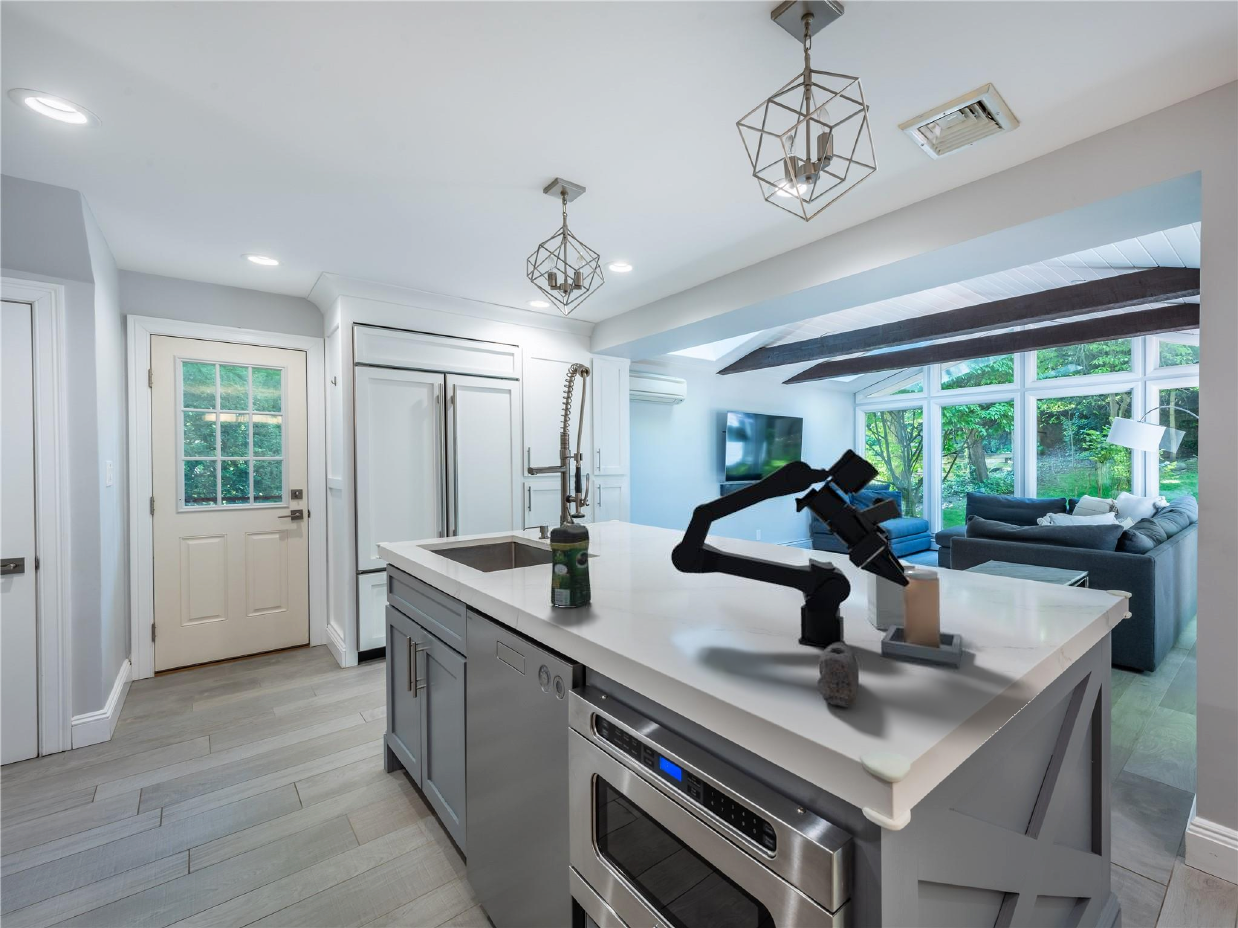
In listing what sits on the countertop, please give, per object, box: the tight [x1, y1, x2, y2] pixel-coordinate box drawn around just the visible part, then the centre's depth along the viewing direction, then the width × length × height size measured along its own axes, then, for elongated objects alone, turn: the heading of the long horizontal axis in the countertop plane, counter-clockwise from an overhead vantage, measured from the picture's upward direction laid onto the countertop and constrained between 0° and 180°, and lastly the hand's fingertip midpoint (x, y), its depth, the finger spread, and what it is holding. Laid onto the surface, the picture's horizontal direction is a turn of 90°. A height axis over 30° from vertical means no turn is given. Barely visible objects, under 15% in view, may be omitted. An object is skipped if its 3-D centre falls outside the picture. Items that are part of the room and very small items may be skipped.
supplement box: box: [866, 559, 916, 631], centre depth 112 cm, size 7×7×13 cm
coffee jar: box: [549, 524, 592, 607], centre depth 132 cm, size 10×8×19 cm
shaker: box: [903, 568, 941, 648], centre depth 95 cm, size 6×6×13 cm
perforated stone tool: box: [816, 642, 860, 708], centre depth 79 cm, size 15×5×7 cm, turn 154°
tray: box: [880, 625, 963, 670], centre depth 95 cm, size 11×11×2 cm
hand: (906, 579), depth 96 cm, fingers open, 9 cm apart
